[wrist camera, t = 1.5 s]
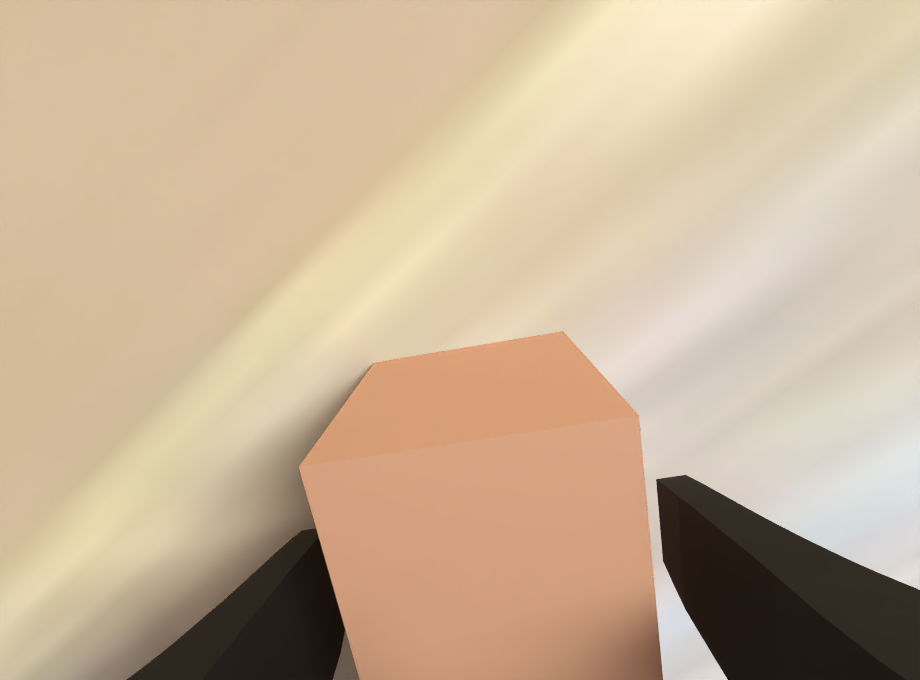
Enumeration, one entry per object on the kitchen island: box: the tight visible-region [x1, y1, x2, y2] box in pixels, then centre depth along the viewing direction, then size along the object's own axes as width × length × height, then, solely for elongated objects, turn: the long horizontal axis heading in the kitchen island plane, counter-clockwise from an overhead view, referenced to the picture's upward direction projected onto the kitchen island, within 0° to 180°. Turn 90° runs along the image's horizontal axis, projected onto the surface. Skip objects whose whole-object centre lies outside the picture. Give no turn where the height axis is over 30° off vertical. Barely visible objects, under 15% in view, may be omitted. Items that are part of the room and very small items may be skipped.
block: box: [299, 331, 663, 680], centre depth 9 cm, size 4×8×5 cm, turn 10°
